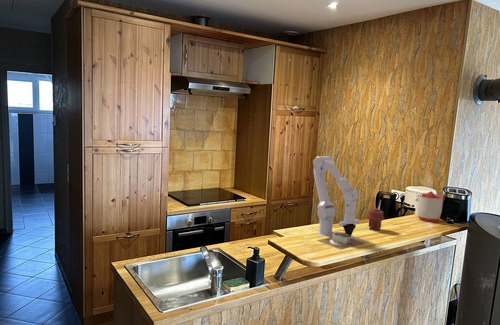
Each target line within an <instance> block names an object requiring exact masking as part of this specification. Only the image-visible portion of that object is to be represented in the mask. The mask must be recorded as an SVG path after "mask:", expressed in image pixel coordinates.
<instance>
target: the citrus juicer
mask: <svg viewBox="0 0 500 325" xmlns="http://www.w3.org/2000/svg"><path fill="white" fill-rule="evenodd" d="M415 202H417V204H416V205H417V208H416V209H417V210H416V211H417V216H418V218H419V220H420V221H425V222H428V223H436V222H438V221H439V220H440V218H441V214H442V211H443V202H444V196H442V195H440V194H435V193H434V192H433V191H429V192H427V193H421V195H420V194H417V198H416V199H415Z"/></svg>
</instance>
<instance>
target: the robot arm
mask: <svg viewBox="0 0 500 325" xmlns="http://www.w3.org/2000/svg"><path fill="white" fill-rule="evenodd" d="M312 164H313V169H312V170H313V172H312V173H313V177H314V180H315V181H314V182H315V186H316V192H317V195H318V200H319V203H318V205H317V217H318V218H319V219H318V220H319V227H318V228H319V229H318V230H317V234H318V235H319V236H327V237H333V233H334V232H333V225H334V219H335V218H334V217H335V216H337V210H336V208H335V205H334V203H333V202H332V201H330V196H329V192H328V187H327V183H326V179H325V178H326V177H325V172H327V171H329V172H330V174H331V175H332V176H333V178H334V179H335V180H336V185H337V187H338V188H339V189H340V191H341V193H342V194H343V195H342V198H343V200H344V215H343V220H341V221H339V222H338V226H339V227H342V228H343V230H344V233H347V234H350V235H351V236H353V235H352V234H353V232H354V230H355V229H356V227H357V224H360V219H358V218H356V214H357V213H356V212H357V201H358V200H359V199H360V194H359V191H358V190H357V189H354V187H353V186H352V185H351V184H350V182H349V179H347V178H345V177H343V176H342V174H341V173H340V171H339V169H338V168H337V166H336V164H335V160H334V159H333V158H332V156H330V155H326V156H325V155H324V156H322V155H321V156H320V155H318V156H316V157H315V158H314V159H313V160H312Z"/></svg>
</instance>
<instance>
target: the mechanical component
mask: <svg viewBox="0 0 500 325" xmlns="http://www.w3.org/2000/svg"><path fill="white" fill-rule="evenodd" d="M366 219H367V220H368V227H369V230H371V231H380V230H381V229H382V221H384V220H385V216H384V211H382V210H380V209H379V208H372V209H369V210H368V213H367V215H366Z"/></svg>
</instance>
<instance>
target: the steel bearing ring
mask: <svg viewBox="0 0 500 325" xmlns="http://www.w3.org/2000/svg"><path fill="white" fill-rule="evenodd" d="M332 233H333V235H332V236H331V237H332V242H333V243H335V244H339V245H349V244H350V241H351V236H352V235H350V234H347V233H345V232H343V231H341V232H340V231H335V232H332Z"/></svg>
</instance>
